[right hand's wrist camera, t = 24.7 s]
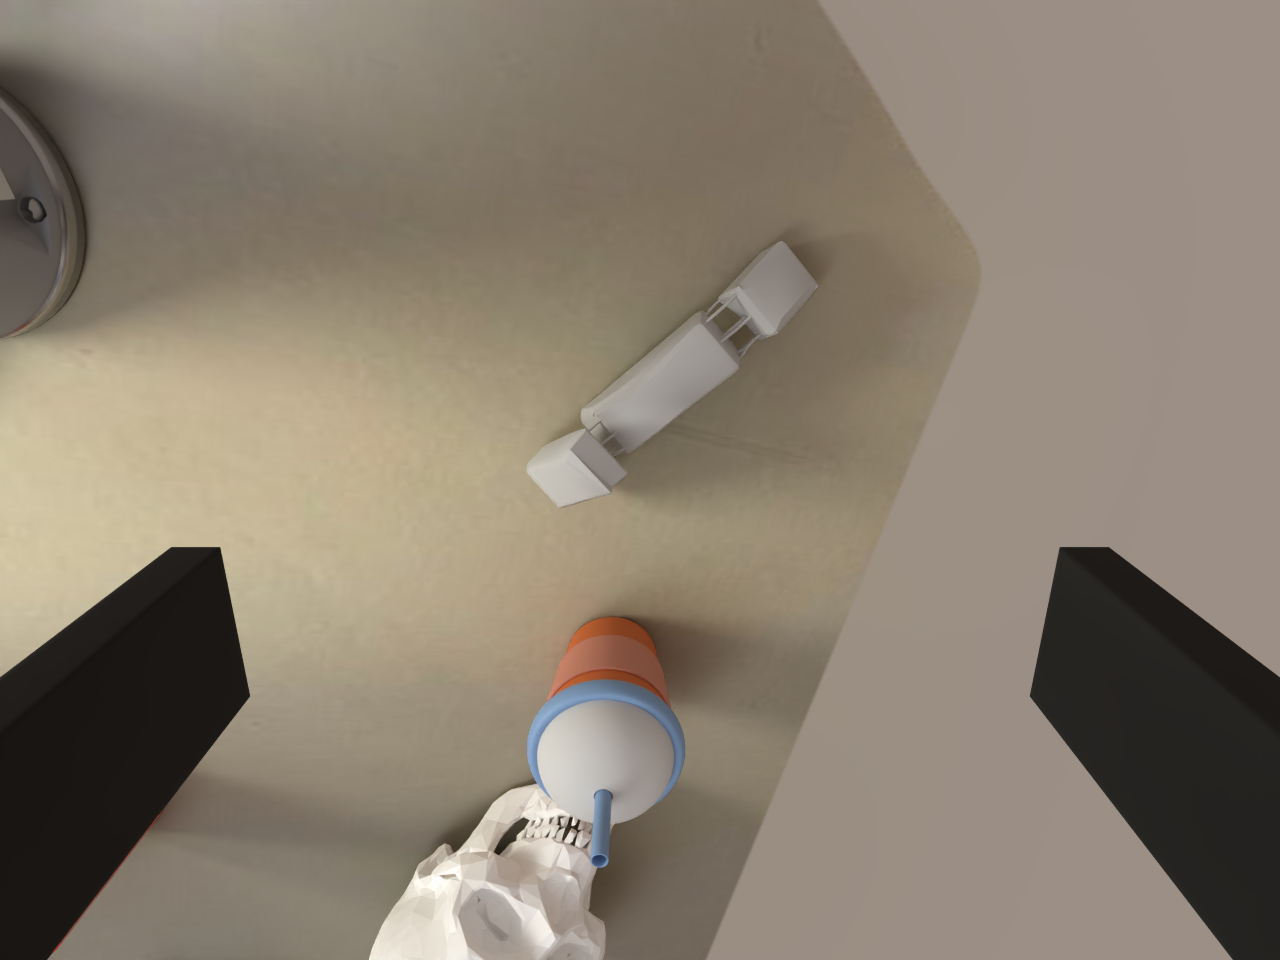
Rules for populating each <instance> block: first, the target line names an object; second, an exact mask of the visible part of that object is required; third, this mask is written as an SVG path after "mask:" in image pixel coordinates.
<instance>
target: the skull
mask: <svg viewBox="0 0 1280 960" xmlns="http://www.w3.org/2000/svg"><path fill="white" fill-rule="evenodd" d="M559 817H564V818H562V819H561V818H560V819H561V828H563V827H567V824H568V821H569V817H573V816H571V815H570V814H568V813H567V812H565V811H564V810H563V809H561V808H560V807H559V806H558V805H557V804H556V803H555V802H554V801H553V800H552V799H550V798H549V797H548V796H547V795H546V794H545V793H544V792H543V790H542V789H541V788H540V787H539V785H538V784H533V785H528V786H523V787H519V788H515V789H511V790H509V791H508V792H506V793H505V794H503V795H502V796H500V797H499V798H498V799H497V800H496V801H495V802H493V804H492V805H491V807H490V808H489V810H488V811H487V813H486V814H485V816H484V817H483V819H482V820H481V822H480V823H479V825H478V826H477V828H476V829H475V830H474V831H473V833H472V834H471V836H470V838H469V839H468V840H467V841H466V842H465V843H464V844H463V846H462V847H461V848H460V849H459V850H458V851H457V852H455V853H453V850H452V848H451V846H450V845H448V844H446V843H444V844H443V845H441V846H440V847H438V849H437V850H436V851H435V852H434V853H433V854H432V855H431V856H430V857H428V858H427V859H425V860H424V861H422V862H421V863H419V865H418V867H417V869H416V871H415V874H414V877H413V879H412V881H411V882H410V884H409V886H408V887H407V889H406V891H405V892H404V894H403V895H402V897H401V898H400V899H399V901H398V902H397V903H396V905H395V906H394V907H393V909H392V910H391V912H390V914H389V915H388V917H387V918H386V920H385V921H384V923H383V925H382V927H381V929H380V931H379V934H378V936H377V938H376V941H375V943H374V945H373V947H372V951H371V954H370V957H369V960H603V957H604V954H605V940H606V933H605V924H604V922H603V921H602V920H600V919H599V918H597V917H596V916H594V915H593V914H591V913H590V912H589V911H588V910H589V906H590V895H591V885H592V881H593V878H594V875H595V873H596V870H597V867H595V866H593V865H592V864H591V861H590V858H591V845H592V831H593V823H590V824H589V822H588V823H587V822H585V821H582V820H581V821H580V824H579V828H578V830H581V831H580V832H579V833H578V834H577V831H576V830H574V829H573V828H571V830H570V832H569V834H568V835H567V837H566V839H565V841H563V840H562V837H563V834H564V830H565V828H563V829H561V830H559V831H558V828H559V826H558V825H557V824H558V821H559ZM522 818H526V819H528V820H530V821H529V823H528V824H527V826H526V827H525V829H524V830H522V831H521V832H520V833H519V834H518V835H517V838H516V841H515V842H512V843H510V844H509V845H508V846H507V847H506V849H505V850H504V851H503V852H502V853H501V854H500V855H497V854H496V853H494V850H495V848H496V846H497V844H498V842H499V841H500V839H501V838H502V837H503V835H504V834H505V833H506V832H507V831H508V830H509V829H510V828H511V827H512V826H513V825H514V824H515V823H516V822H517V821H518V820H520V819H522ZM542 820H543V822H542ZM550 820H553V821H552V822H551V824H550ZM534 821H535V823H534ZM577 822H578V819H577V818H575V817H573V820H572V824H571V825H572V826H574V825H576V823H577ZM585 823H586V824H585ZM533 824H534V825H533ZM613 826H614V824H610V834H611V829H612V827H613ZM584 827H585V828H584ZM583 829H584V831H583ZM590 830H591V834H589V832H590ZM557 831H558V833H557ZM549 832H550V833H549ZM548 833H549V836H548V837H546V836H547V835H548ZM556 833H557V834H556ZM576 834H577V839H576V843H575V847H574V846H572V845H571V844H570V843H571V842H572V841H573V839H574V837H575V835H576ZM555 836H556V838H555ZM590 839H591V840H590ZM589 840H590V842H589V843H588V844H587V845H586V846H585V844H586V843H587V842H588V841H589ZM584 846H585V847H584ZM583 847H584V848H583Z"/></svg>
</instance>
